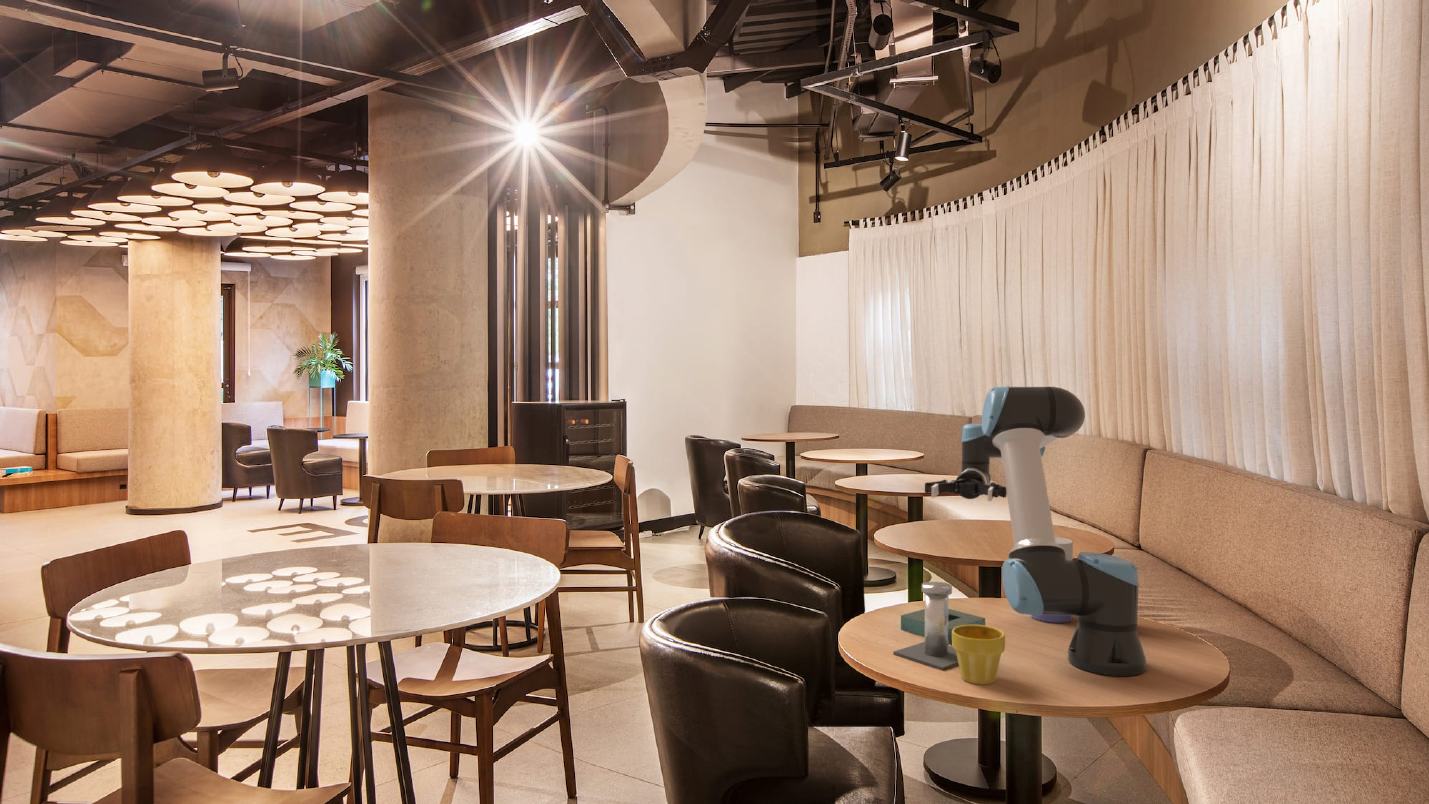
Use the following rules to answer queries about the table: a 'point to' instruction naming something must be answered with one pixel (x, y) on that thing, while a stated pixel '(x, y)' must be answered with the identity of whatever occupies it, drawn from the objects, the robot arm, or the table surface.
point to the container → (1068, 548)
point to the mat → (928, 656)
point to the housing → (955, 618)
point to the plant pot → (978, 652)
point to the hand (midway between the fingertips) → (960, 493)
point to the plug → (936, 617)
